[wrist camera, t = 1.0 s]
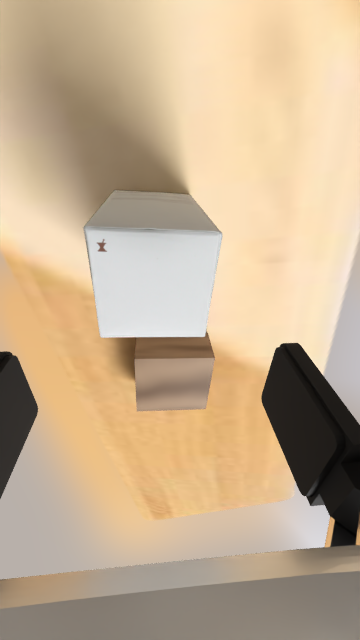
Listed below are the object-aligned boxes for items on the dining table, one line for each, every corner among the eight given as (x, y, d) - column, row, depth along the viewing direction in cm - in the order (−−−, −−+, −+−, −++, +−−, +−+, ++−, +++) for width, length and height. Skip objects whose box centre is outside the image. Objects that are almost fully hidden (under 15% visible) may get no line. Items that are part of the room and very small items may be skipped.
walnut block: (136, 331, 33) (134, 358, 28) (207, 331, 34) (214, 357, 29) (138, 382, 38) (136, 411, 33) (200, 380, 38) (205, 408, 34)
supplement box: (117, 266, 27) (95, 340, 17) (112, 187, 23) (79, 221, 13) (186, 268, 28) (206, 341, 18) (193, 193, 24) (224, 229, 14)
